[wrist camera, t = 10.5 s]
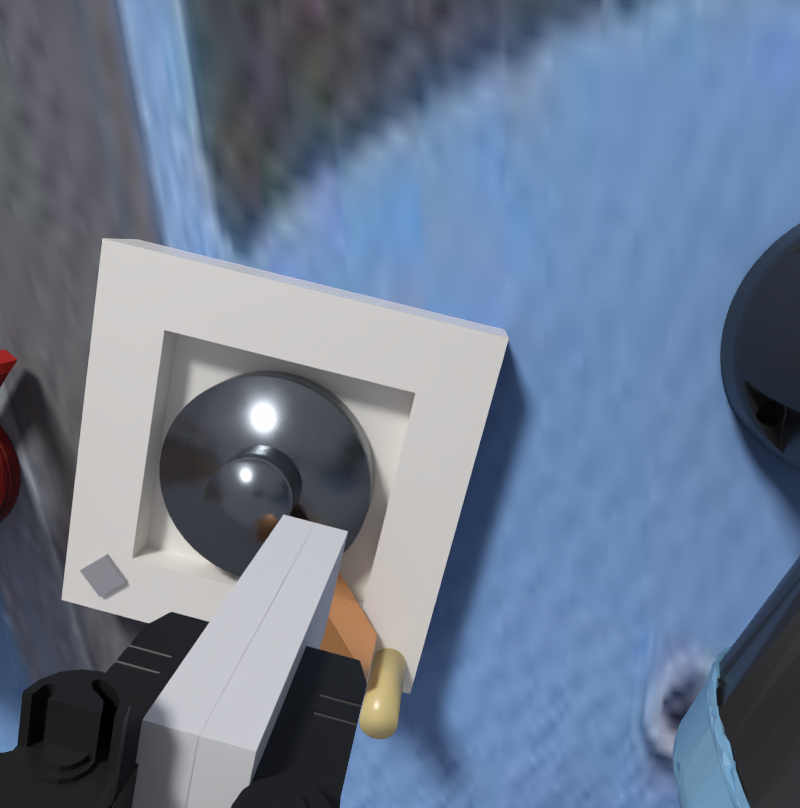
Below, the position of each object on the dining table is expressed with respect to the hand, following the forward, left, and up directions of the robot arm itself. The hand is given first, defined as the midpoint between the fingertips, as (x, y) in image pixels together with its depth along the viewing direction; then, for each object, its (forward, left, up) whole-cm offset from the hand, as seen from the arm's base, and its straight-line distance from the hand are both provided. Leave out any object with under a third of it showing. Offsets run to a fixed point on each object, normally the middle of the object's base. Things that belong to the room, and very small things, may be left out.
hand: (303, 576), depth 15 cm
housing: (+6, +7, -24) cm, 26 cm away
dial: (+4, +9, -22) cm, 24 cm away
